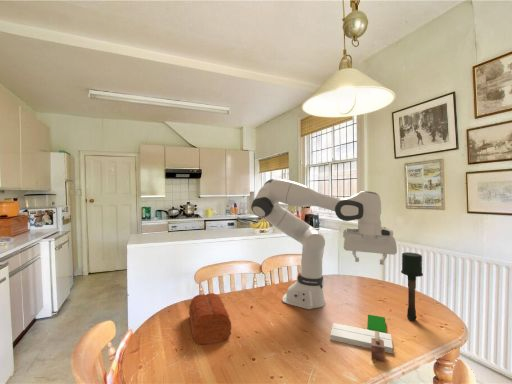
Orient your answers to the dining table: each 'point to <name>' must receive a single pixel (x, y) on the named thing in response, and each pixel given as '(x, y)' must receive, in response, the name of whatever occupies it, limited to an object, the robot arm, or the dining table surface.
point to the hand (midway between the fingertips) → (369, 262)
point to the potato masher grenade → (411, 279)
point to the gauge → (377, 348)
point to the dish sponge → (376, 323)
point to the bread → (209, 319)
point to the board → (359, 336)
